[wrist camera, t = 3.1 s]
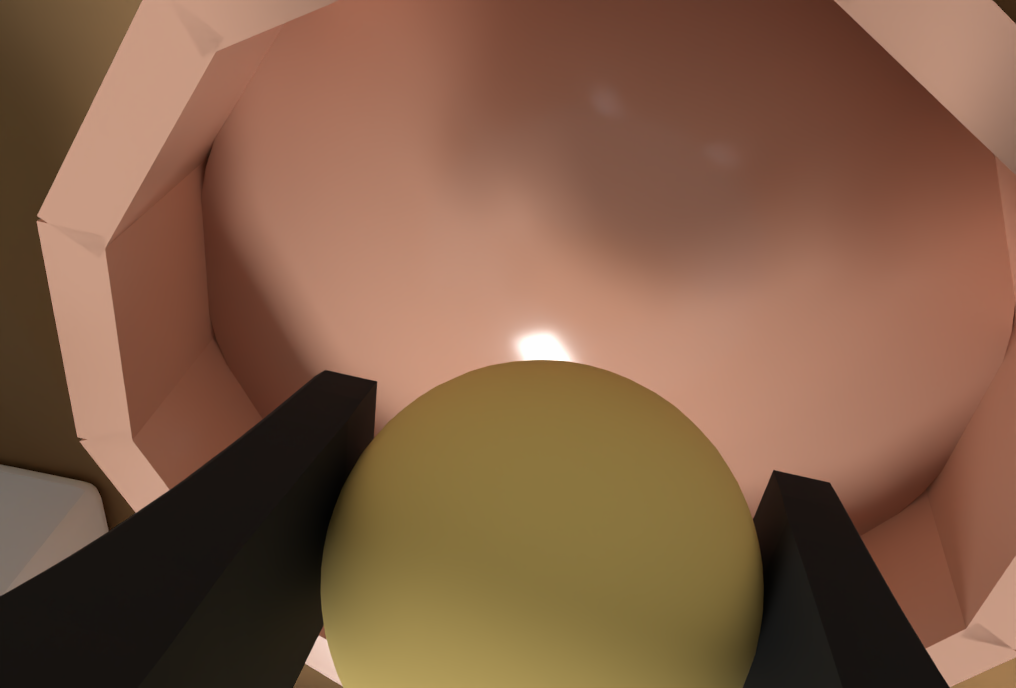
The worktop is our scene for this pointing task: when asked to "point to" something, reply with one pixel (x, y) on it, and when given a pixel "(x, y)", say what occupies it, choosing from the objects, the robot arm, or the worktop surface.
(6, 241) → the worktop surface
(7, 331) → the worktop surface
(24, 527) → the container
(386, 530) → the ball
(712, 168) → the bowl
